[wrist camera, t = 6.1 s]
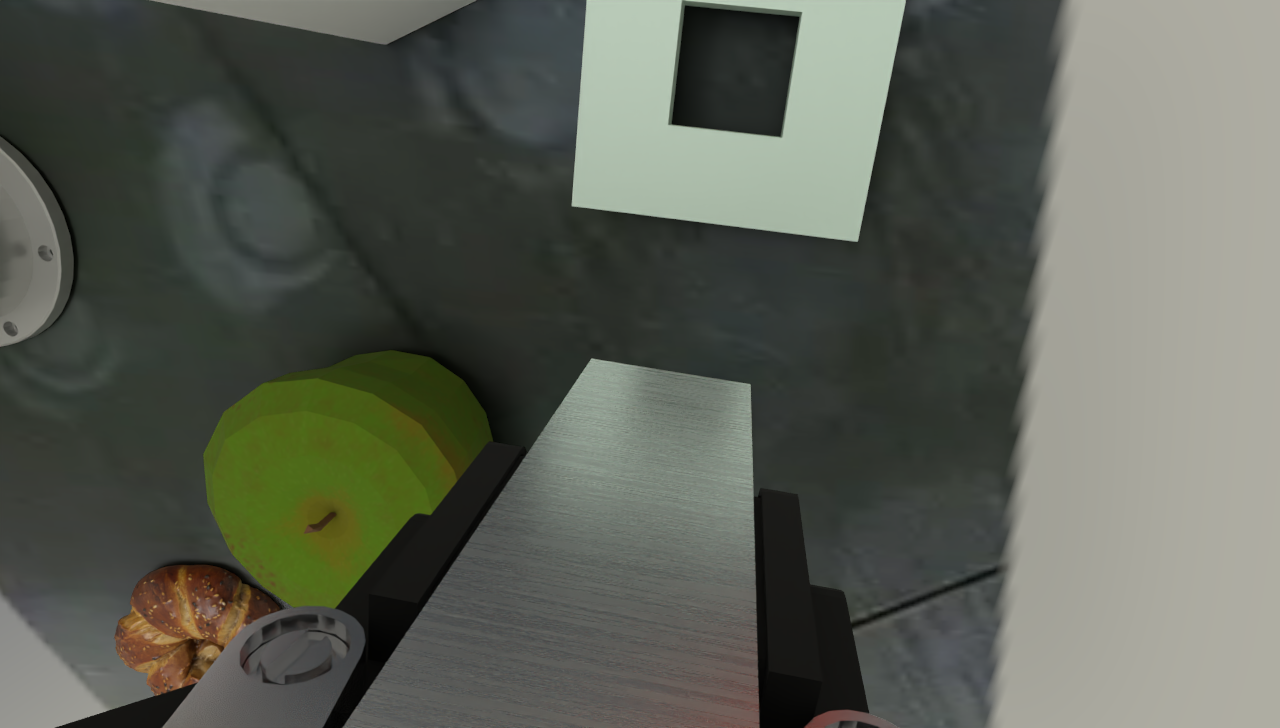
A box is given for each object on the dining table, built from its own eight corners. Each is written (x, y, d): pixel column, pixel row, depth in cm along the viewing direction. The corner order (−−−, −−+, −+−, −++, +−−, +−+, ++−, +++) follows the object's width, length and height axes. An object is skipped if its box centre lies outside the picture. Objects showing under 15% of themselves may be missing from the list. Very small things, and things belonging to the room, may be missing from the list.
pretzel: (341, 678, 49) (311, 722, 46) (216, 723, 52) (179, 767, 49) (236, 529, 46) (195, 563, 43) (110, 585, 49) (62, 621, 46)
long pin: (724, 526, 16) (657, 1890, 4) (575, 500, 16) (33, 1683, 4) (750, 384, 15) (781, 1591, 3) (591, 358, 15) (-67, 1335, 3)
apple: (268, 394, 43) (111, 486, 32) (429, 280, 39) (312, 341, 29) (404, 562, 45) (299, 700, 35) (567, 468, 42) (505, 589, 31)
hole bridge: (843, 224, 36) (857, 242, 31) (594, 194, 37) (571, 206, 32) (898, -61, 32) (924, -91, 27) (617, -86, 33) (595, -119, 28)
